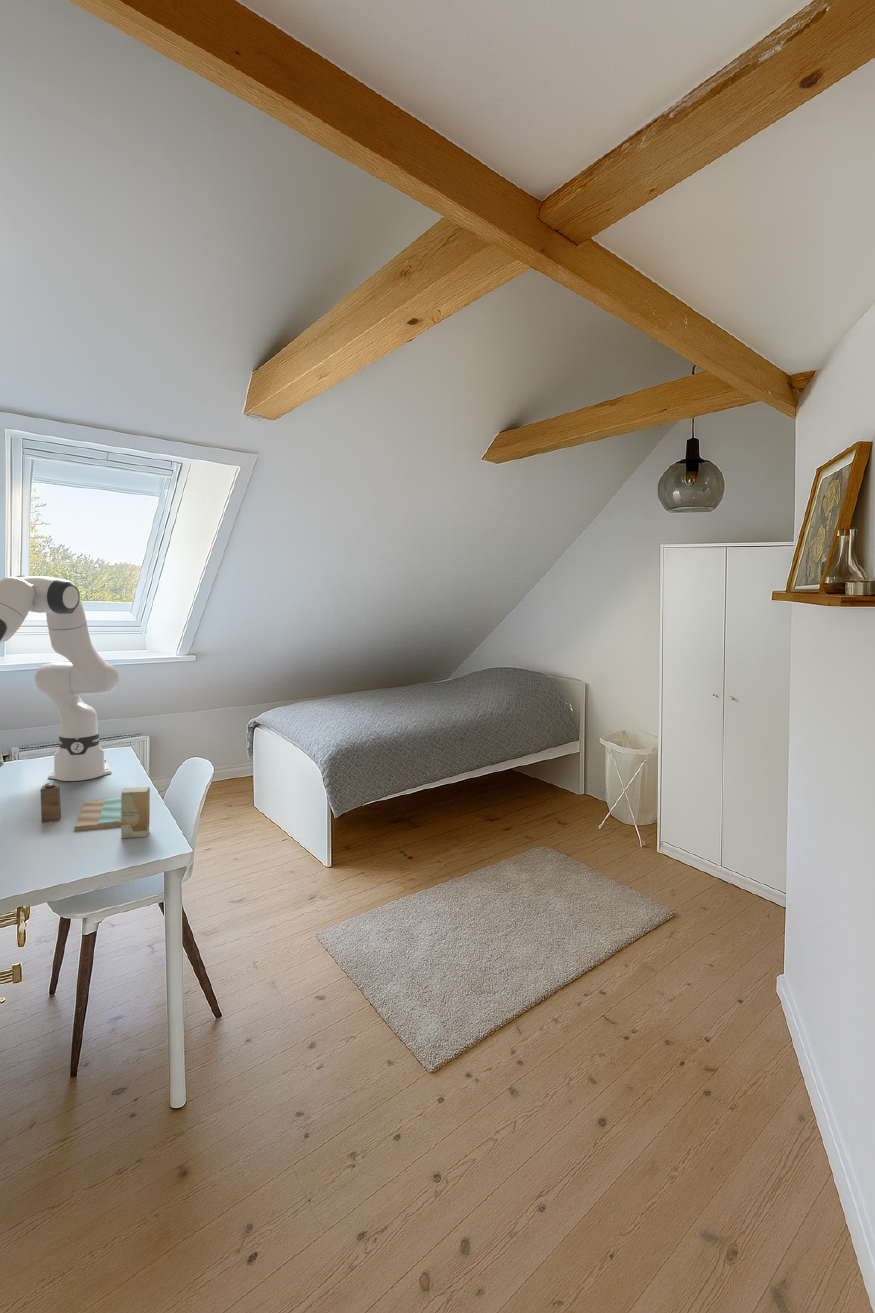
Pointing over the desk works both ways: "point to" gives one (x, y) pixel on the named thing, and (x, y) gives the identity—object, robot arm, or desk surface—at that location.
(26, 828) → the desk surface
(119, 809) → the tan flat board
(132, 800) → the skincare box
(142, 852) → the desk surface
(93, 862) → the desk surface
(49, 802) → the walnut post
